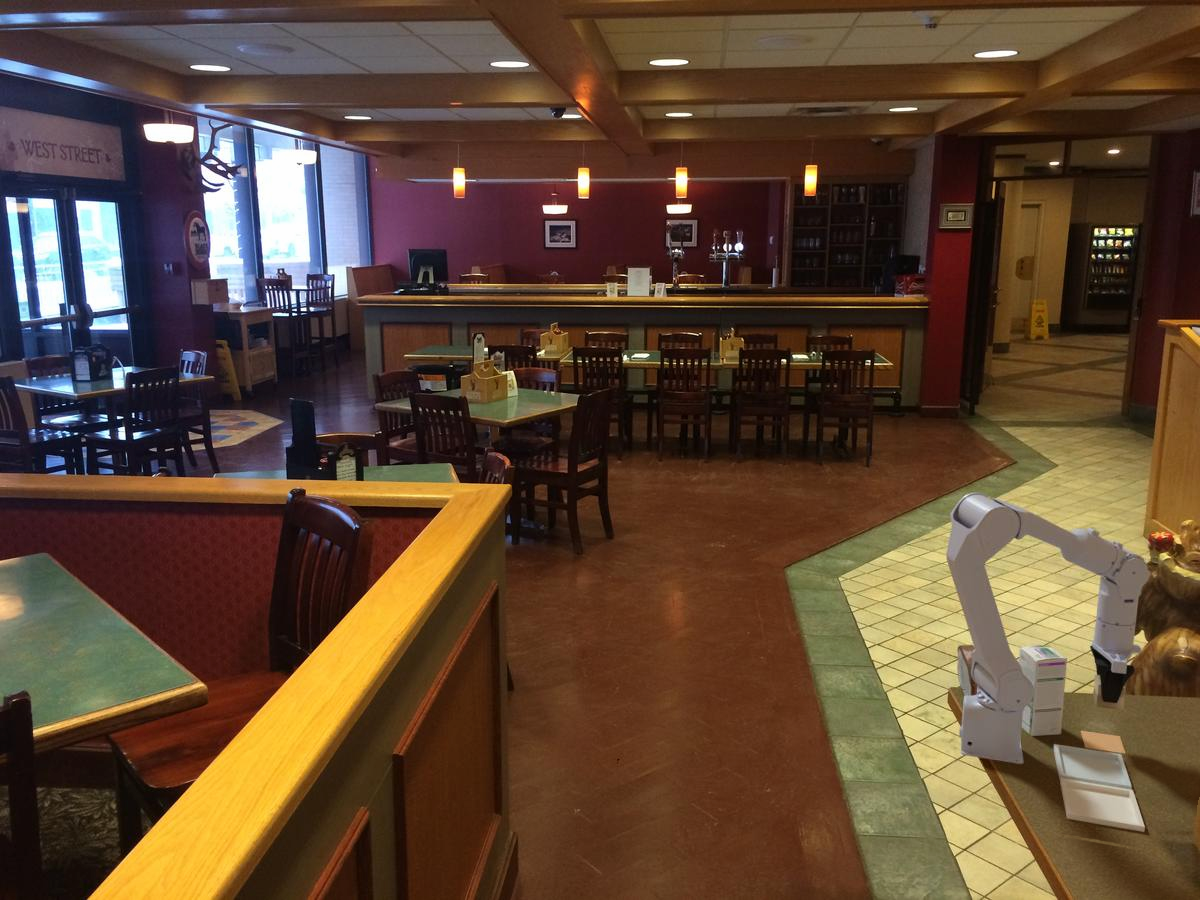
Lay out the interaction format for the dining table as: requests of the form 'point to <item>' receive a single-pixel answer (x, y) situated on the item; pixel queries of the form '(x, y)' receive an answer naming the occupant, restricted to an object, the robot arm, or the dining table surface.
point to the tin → (966, 670)
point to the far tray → (1091, 766)
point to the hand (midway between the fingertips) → (1107, 695)
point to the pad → (1103, 742)
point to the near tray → (1101, 804)
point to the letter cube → (1099, 700)
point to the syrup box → (1043, 689)
